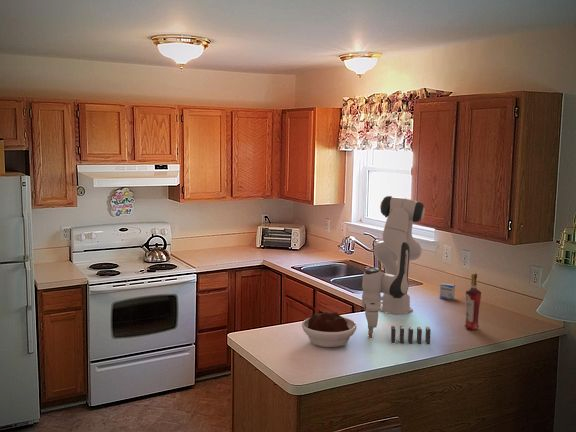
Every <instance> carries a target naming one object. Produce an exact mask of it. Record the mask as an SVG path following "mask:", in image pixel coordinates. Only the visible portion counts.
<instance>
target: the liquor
mask: <svg viewBox="0 0 576 432" xmlns="http://www.w3.org/2000/svg"><path fill="white" fill-rule="evenodd" d="M477 281H478V273H476V272H473V273H471V284H470V288H469V289H467V290H465V324H464V327H465V328H466V329H467V330H469V331H476V330H477V329H478V328H479V327H480V326H479V316H480V307H481V299H482V298H481V297H482V292H481V291H480V290H479V289H478V286H477V285H478V284H477Z"/></svg>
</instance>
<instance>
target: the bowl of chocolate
mask: <svg viewBox="0 0 576 432" xmlns="http://www.w3.org/2000/svg"><path fill="white" fill-rule="evenodd" d="M301 327H302V330H303V332H304V333H305V335H307V336H308V339H309V341H310V342H311V343H312V344H314V345H316V346H318V347H322V348H337V347H338V348H339V347H342V346H344V345H346V344H348V342H349V340H350V338H351V336H353V335H354V333H355V332H356V330H357V324H356V322H355V321H354V320H352V319H349V318H348V317H343V316H342V315H340V314H339V312H338V311H334V312H327V311H324V312H321V313H314V314H311V316H310V317H308V318H306V319H304V320H303V321H302V323H301Z"/></svg>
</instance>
